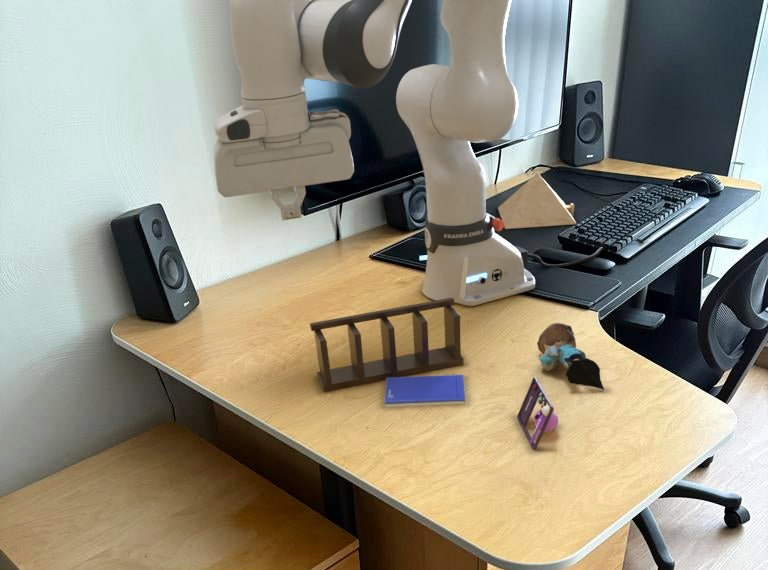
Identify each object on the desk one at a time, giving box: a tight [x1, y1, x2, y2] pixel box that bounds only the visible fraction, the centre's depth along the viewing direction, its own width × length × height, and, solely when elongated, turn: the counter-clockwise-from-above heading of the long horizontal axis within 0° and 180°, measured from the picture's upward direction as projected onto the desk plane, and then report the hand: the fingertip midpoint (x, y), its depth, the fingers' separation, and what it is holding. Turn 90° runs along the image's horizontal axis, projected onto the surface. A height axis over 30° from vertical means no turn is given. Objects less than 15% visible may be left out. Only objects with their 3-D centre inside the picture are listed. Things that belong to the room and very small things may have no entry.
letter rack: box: [309, 298, 465, 393], centre depth 125 cm, size 24×5×10 cm, turn 105°
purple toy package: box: [516, 377, 559, 450], centre depth 108 cm, size 7×5×9 cm
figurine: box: [536, 322, 605, 391], centre depth 121 cm, size 8×16×6 cm, turn 10°
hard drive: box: [384, 374, 466, 408], centre depth 121 cm, size 2×8×12 cm
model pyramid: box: [497, 172, 577, 230], centre depth 183 cm, size 17×17×10 cm
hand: (291, 218), depth 116 cm, fingers closed
